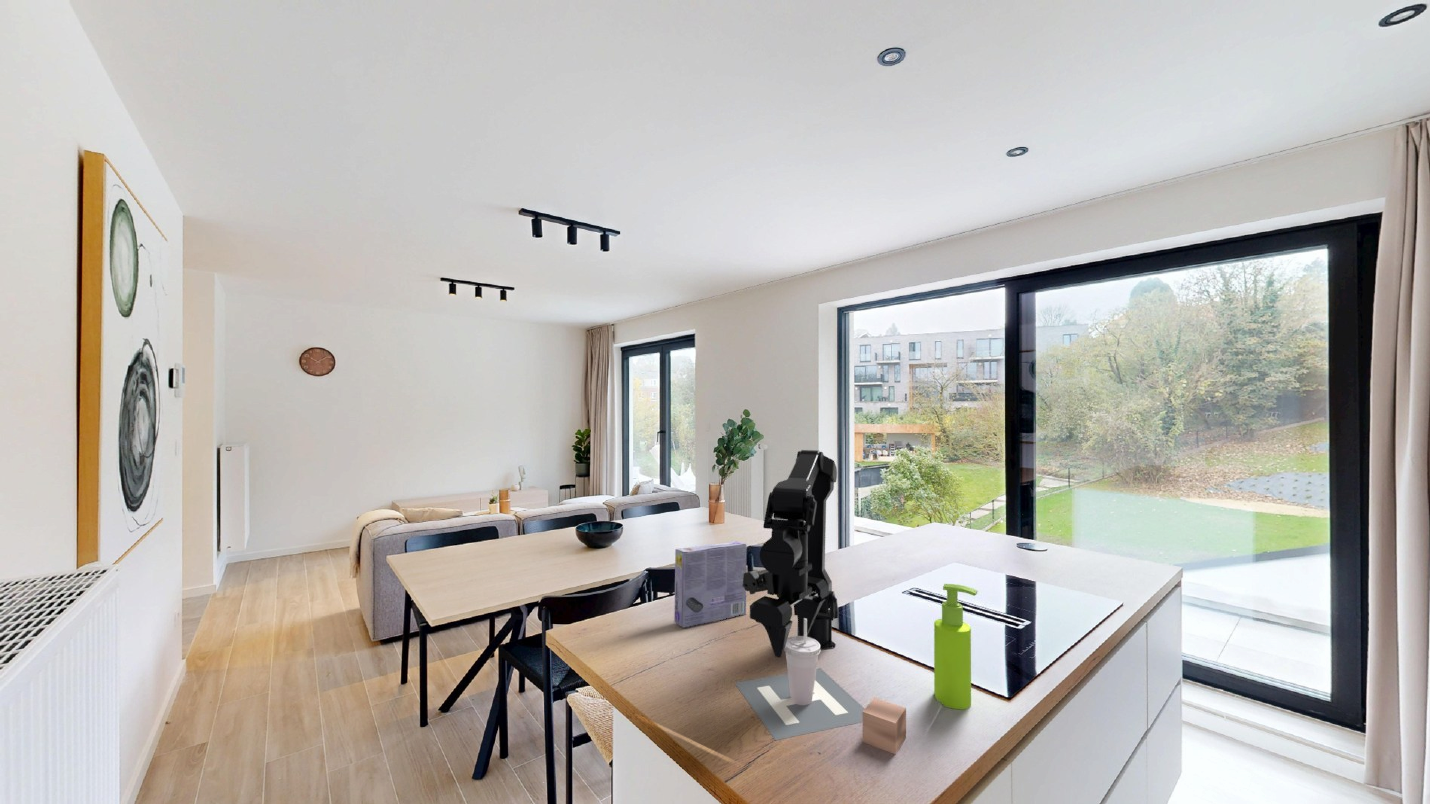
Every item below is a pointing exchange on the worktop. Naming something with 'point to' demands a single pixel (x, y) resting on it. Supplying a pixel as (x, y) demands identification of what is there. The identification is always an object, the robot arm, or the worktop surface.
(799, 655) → the smoothie
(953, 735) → the worktop surface
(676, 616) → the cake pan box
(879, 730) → the terracotta block
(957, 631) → the soap dispenser
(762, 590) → the robot arm
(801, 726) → the board
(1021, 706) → the worktop surface
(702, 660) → the worktop surface
